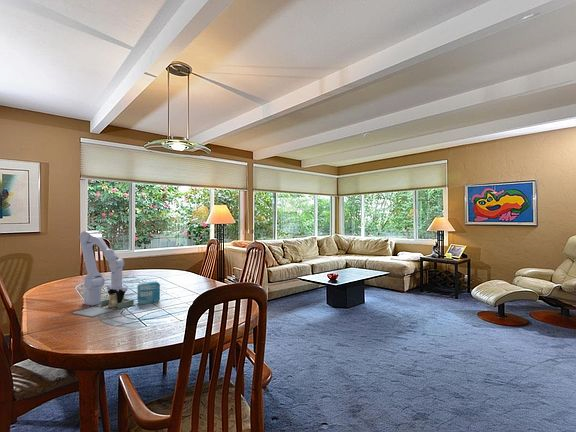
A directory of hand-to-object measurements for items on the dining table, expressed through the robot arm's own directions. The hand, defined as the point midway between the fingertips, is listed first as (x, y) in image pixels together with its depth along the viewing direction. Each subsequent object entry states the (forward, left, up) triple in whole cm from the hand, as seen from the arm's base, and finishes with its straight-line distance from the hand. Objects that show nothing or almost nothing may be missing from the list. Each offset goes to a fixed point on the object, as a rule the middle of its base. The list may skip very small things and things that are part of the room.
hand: (116, 302), depth 185 cm
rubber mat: (0, -14, -2) cm, 15 cm away
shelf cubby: (0, 0, -2) cm, 2 cm away
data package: (+12, +12, -2) cm, 17 cm away
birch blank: (0, 0, -2) cm, 2 cm away
